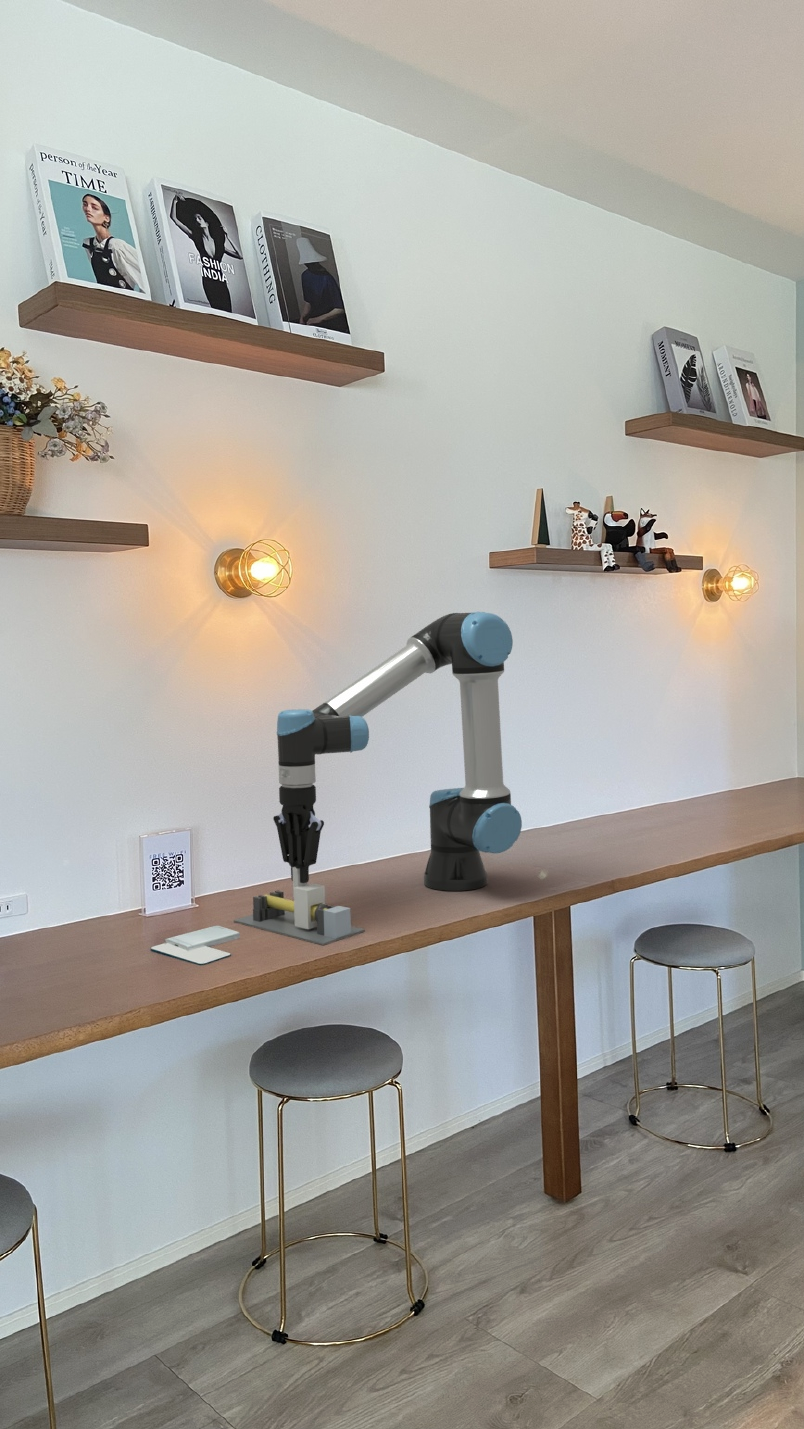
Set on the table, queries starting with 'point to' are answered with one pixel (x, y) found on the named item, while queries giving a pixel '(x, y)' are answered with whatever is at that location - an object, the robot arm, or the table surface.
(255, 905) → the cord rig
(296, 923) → the sleeve
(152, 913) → the table surface
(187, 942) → the hard drive
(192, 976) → the table surface
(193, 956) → the smartphone
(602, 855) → the table surface
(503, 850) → the robot arm
